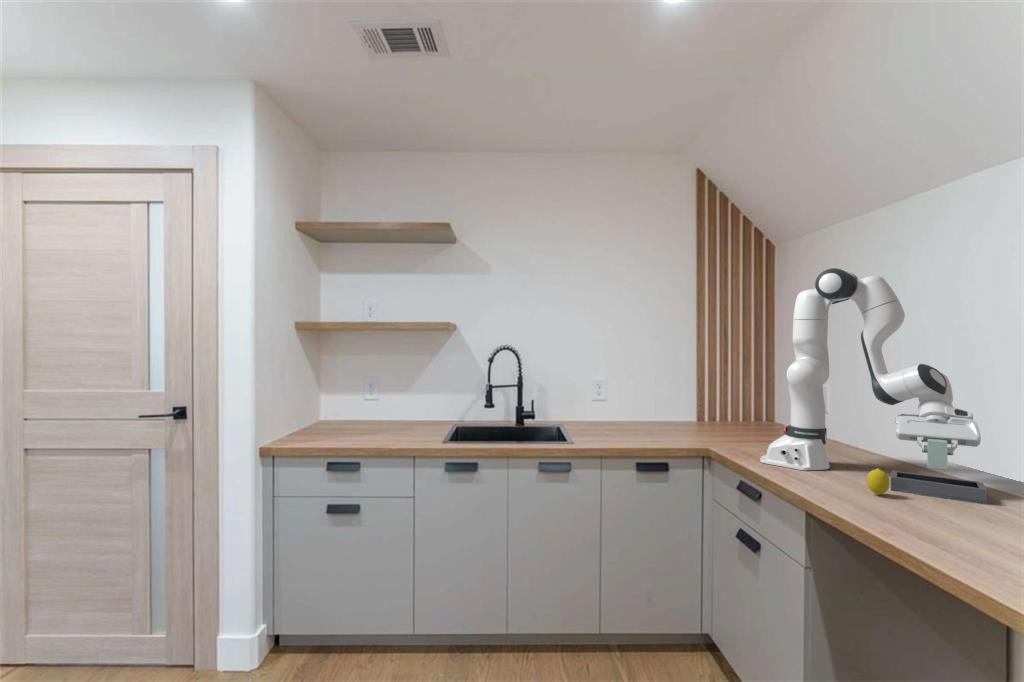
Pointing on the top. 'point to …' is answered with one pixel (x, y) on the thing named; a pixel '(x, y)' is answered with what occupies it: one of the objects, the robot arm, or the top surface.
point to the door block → (937, 454)
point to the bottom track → (939, 487)
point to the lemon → (878, 481)
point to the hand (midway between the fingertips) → (937, 452)
